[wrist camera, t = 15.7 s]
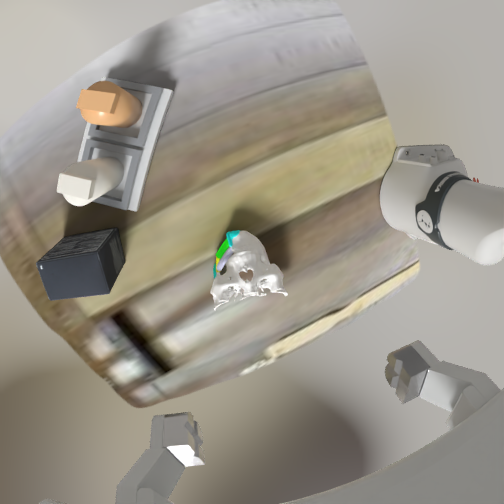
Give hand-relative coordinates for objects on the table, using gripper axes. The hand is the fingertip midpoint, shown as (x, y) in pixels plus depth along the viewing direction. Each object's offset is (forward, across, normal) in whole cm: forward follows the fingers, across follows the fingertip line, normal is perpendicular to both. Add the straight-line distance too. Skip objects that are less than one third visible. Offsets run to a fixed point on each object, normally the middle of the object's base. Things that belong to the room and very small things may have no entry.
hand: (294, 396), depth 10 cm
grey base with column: (+35, +13, -13) cm, 40 cm away
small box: (+35, +23, +2) cm, 42 cm away
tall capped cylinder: (+33, +11, -17) cm, 39 cm away
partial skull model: (+36, 0, +10) cm, 37 cm away
